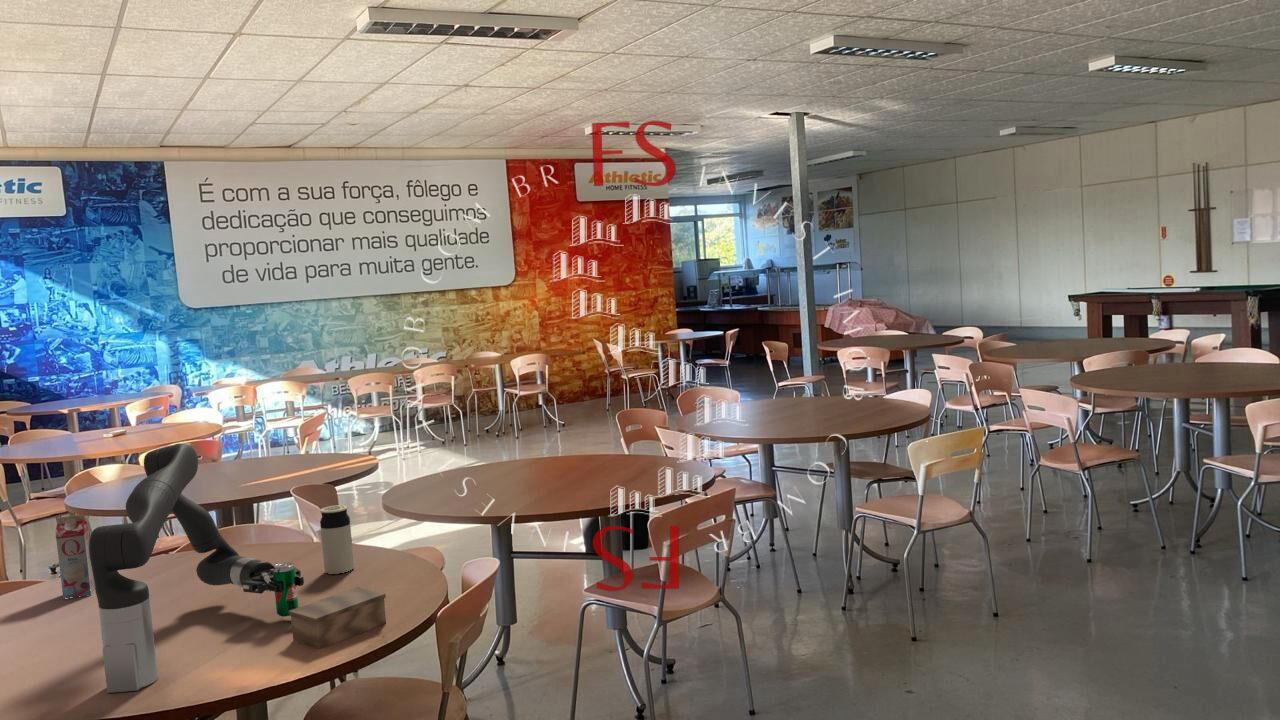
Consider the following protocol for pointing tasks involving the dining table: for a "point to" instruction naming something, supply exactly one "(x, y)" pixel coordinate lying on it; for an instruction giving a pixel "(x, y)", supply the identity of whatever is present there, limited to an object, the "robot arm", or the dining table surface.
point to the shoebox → (338, 617)
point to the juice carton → (74, 556)
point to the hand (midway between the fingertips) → (291, 584)
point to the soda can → (285, 588)
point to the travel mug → (336, 539)
